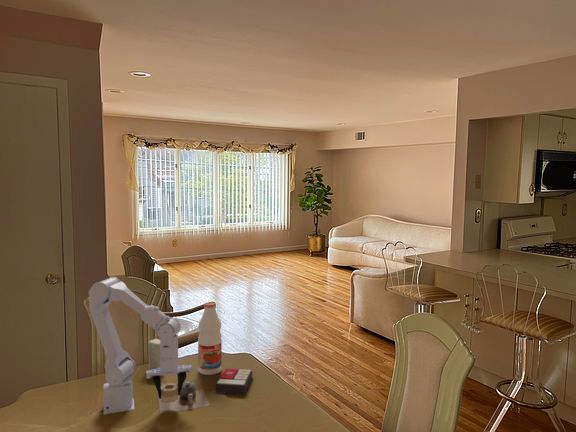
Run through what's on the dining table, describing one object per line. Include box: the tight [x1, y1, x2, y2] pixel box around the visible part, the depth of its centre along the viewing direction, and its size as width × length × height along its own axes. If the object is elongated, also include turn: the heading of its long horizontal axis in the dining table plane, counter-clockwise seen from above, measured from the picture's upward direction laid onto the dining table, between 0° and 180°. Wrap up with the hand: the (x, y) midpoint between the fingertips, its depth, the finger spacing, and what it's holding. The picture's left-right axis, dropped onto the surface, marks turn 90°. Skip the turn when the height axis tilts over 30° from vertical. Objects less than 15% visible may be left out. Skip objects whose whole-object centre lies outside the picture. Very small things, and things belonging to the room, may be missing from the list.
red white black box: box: [215, 368, 253, 396], centre depth 164 cm, size 11×4×15 cm
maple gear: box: [161, 382, 178, 403], centre depth 144 cm, size 6×6×4 cm
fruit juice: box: [197, 301, 223, 376], centre depth 176 cm, size 9×9×28 cm
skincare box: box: [147, 338, 160, 371], centre depth 176 cm, size 6×4×12 cm
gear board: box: [157, 381, 210, 415], centre depth 150 cm, size 16×13×6 cm
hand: (169, 395), depth 144 cm, fingers closed on maple gear, 5 cm apart
